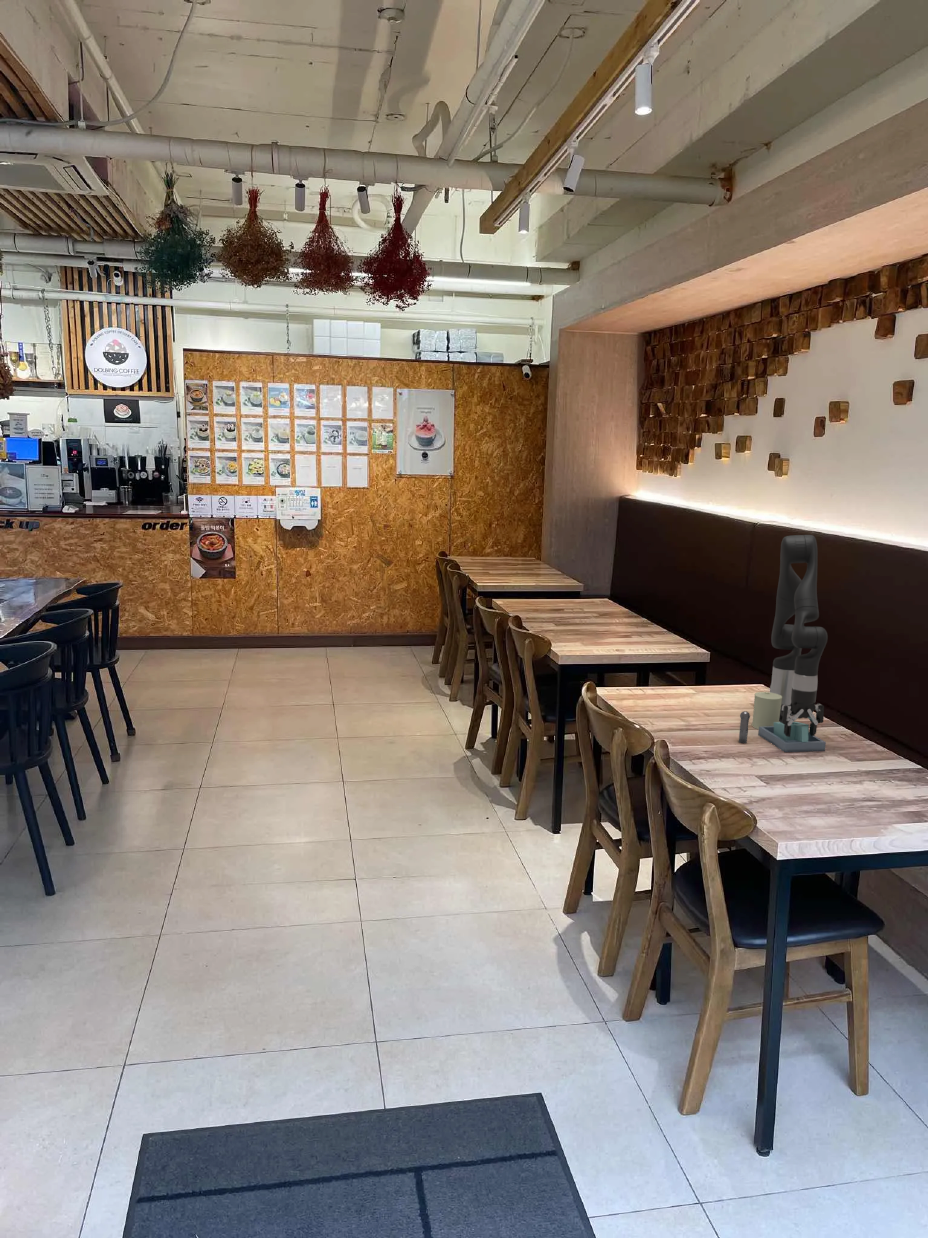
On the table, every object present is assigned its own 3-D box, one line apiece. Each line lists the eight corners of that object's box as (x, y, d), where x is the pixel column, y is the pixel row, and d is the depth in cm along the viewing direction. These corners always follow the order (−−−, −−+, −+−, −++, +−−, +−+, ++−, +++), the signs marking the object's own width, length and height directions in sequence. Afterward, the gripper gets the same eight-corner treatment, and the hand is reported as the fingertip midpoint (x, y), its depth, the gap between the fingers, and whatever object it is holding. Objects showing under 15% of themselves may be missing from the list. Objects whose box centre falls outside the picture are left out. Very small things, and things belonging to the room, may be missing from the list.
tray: (758, 735, 296) (758, 726, 296) (796, 734, 299) (797, 725, 298) (784, 752, 279) (785, 743, 279) (824, 751, 282) (825, 742, 281)
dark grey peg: (736, 740, 290) (738, 710, 288) (744, 740, 290) (747, 709, 288) (740, 744, 287) (743, 712, 285) (749, 743, 287) (752, 712, 285)
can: (775, 723, 310) (778, 691, 307) (782, 732, 301) (785, 698, 298) (749, 722, 310) (751, 690, 308) (754, 730, 301) (757, 697, 299)
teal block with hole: (773, 737, 292) (773, 722, 292) (795, 736, 293) (795, 721, 293) (793, 742, 280) (793, 726, 280) (816, 741, 281) (816, 726, 281)
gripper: (818, 684, 285) (813, 731, 288) (777, 684, 283) (773, 732, 286) (831, 690, 278) (826, 738, 281) (789, 691, 276) (785, 740, 279)
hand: (799, 735), depth 284 cm, fingers open, 8 cm apart
